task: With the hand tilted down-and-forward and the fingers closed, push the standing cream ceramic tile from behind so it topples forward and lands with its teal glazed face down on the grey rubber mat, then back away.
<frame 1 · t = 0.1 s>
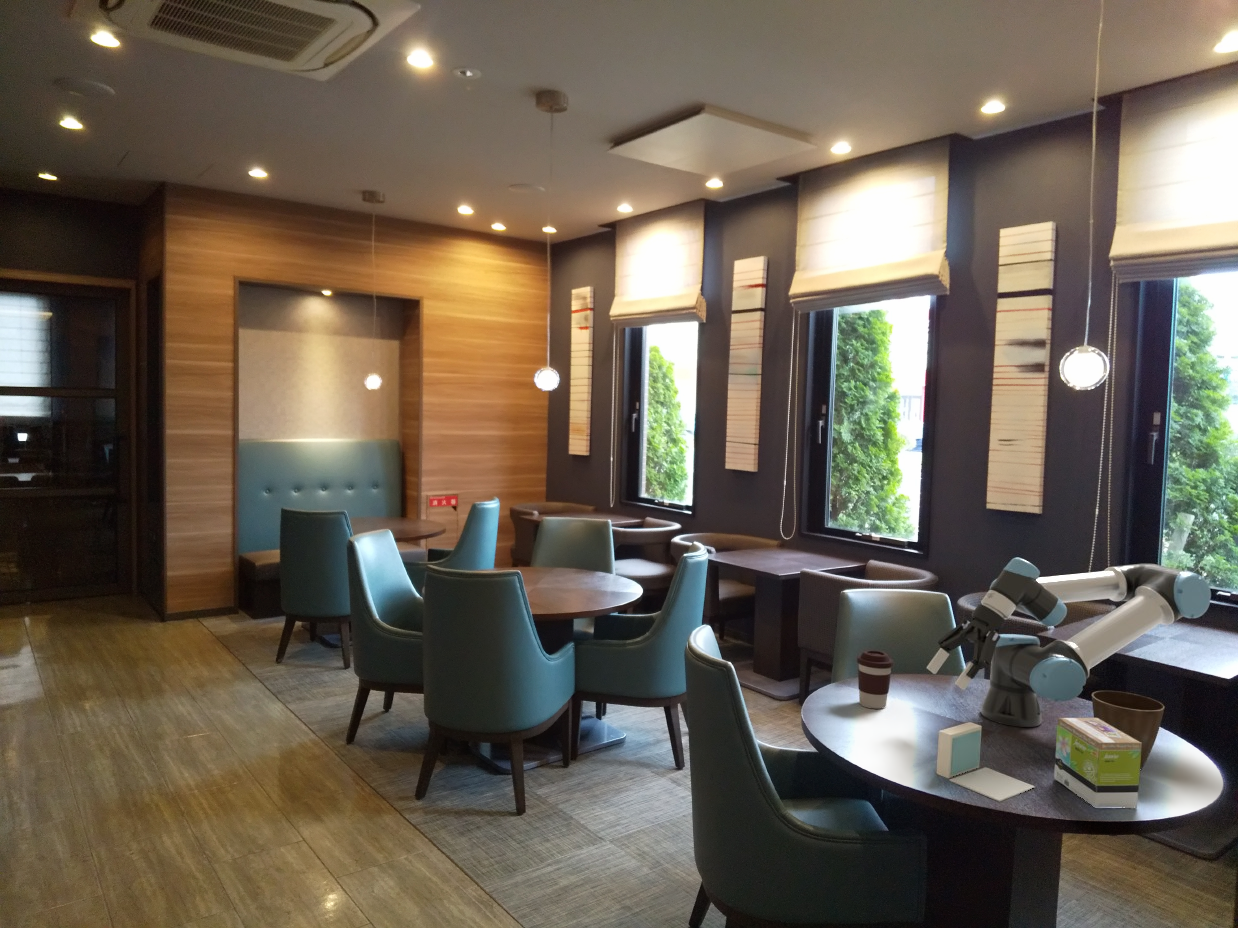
hand: (944, 678, 215), 15 cm above the table, tool tilted 35°, fingers open, 13 cm apart
coffee cup: (872, 705, 240), on the table
tea box: (1093, 794, 186), on the table
tile: (957, 770, 196), on the table
mat: (992, 784, 189), on the table
plant pot: (1122, 766, 203), on the table
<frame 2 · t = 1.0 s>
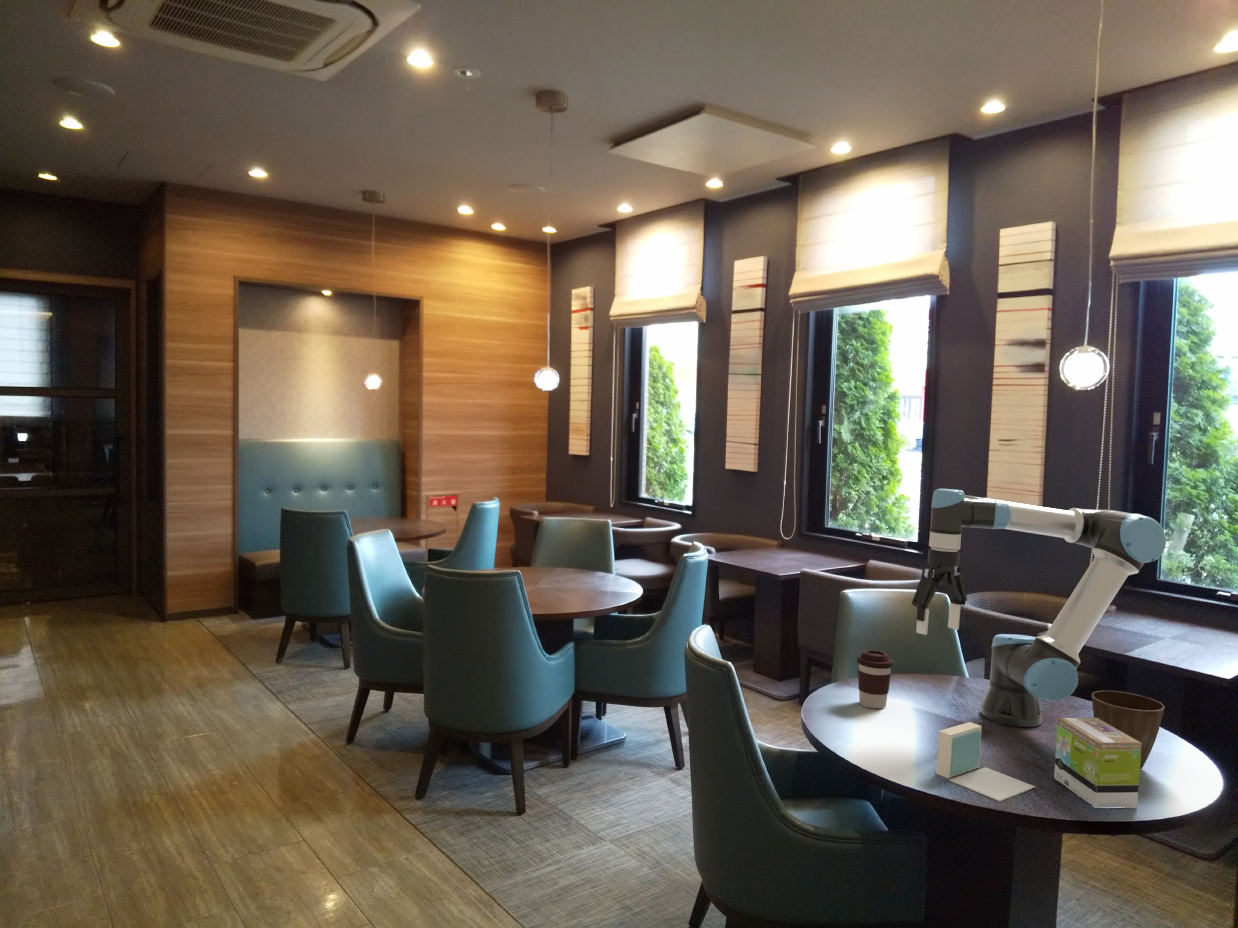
hand: (937, 631, 218), 27 cm above the table, tool pointing down, fingers open, 13 cm apart
nothing on the table moved.
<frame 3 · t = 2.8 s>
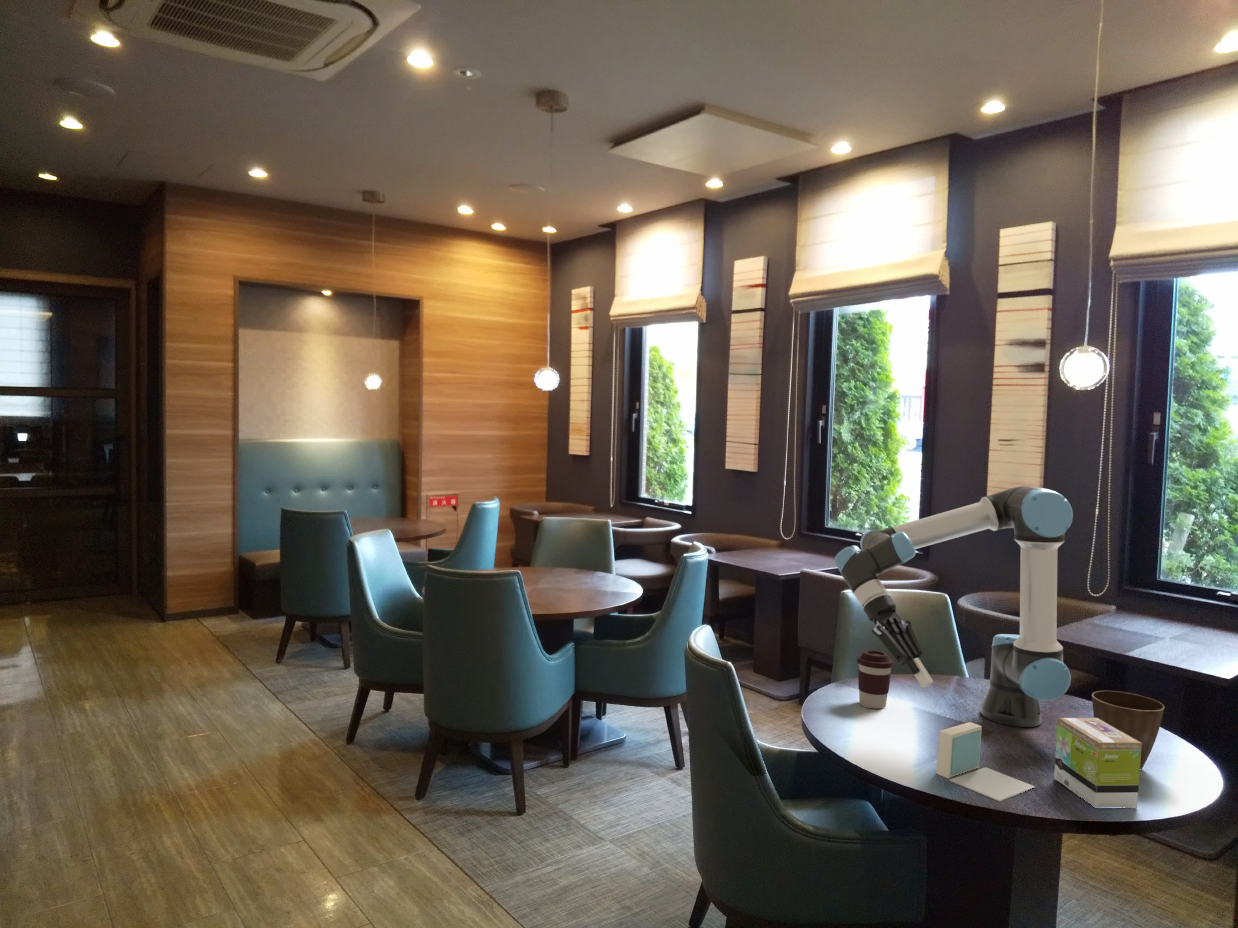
hand: (927, 684, 202), 18 cm above the table, tool tilted 45°, fingers closed
nothing on the table moved.
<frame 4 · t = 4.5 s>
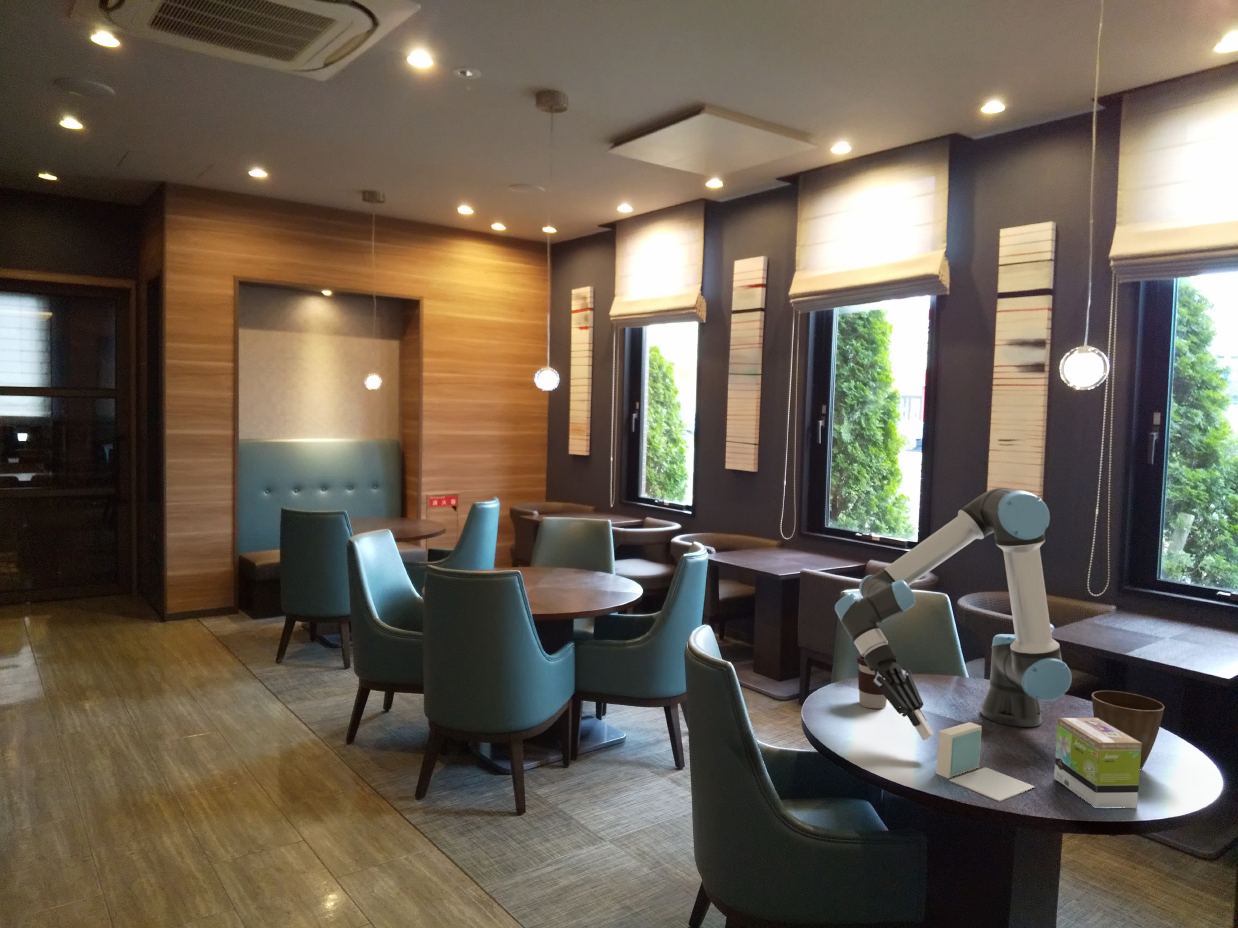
hand: (928, 737, 202), 5 cm above the table, tool tilted 45°, fingers closed
nothing on the table moved.
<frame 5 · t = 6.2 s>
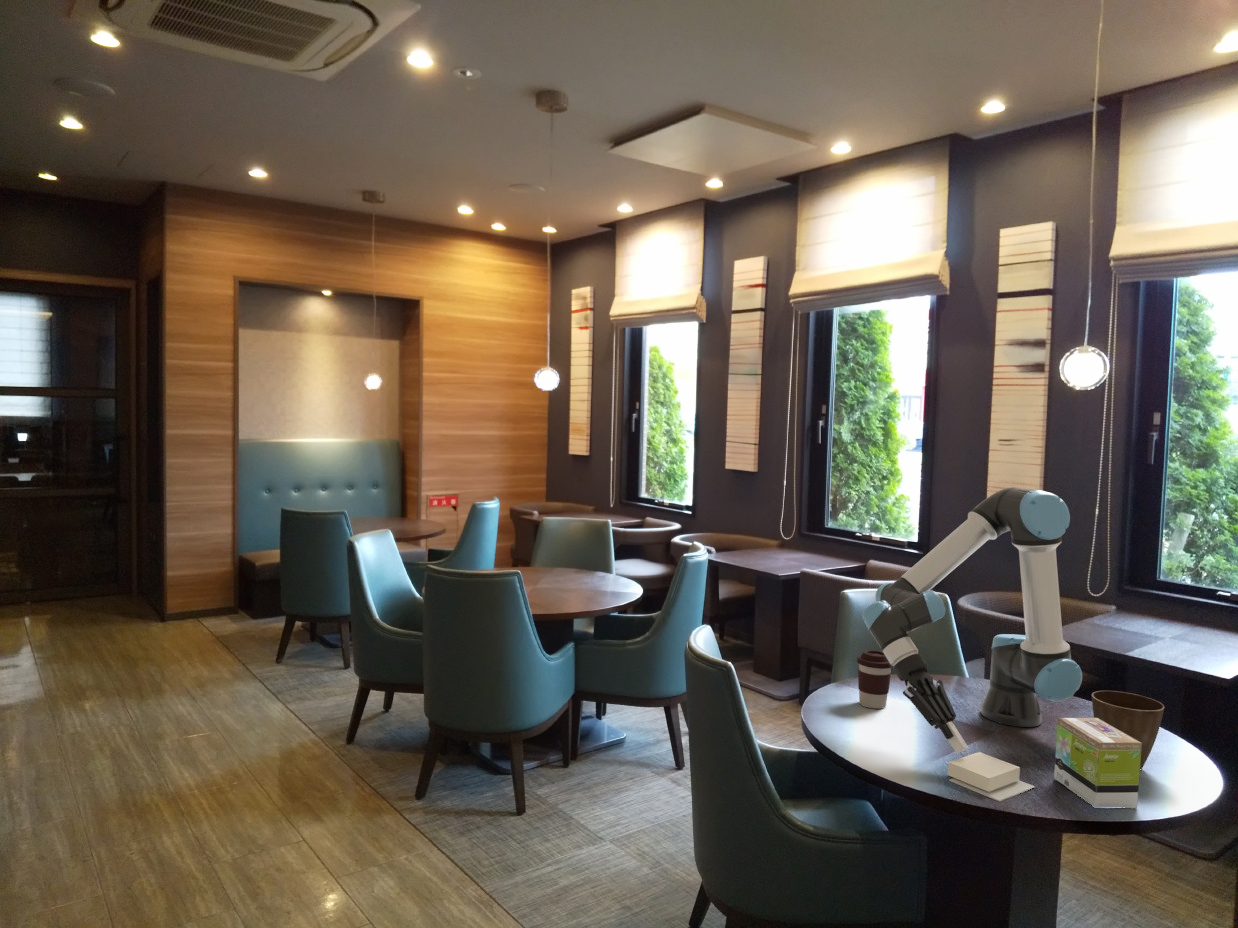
hand: (962, 750, 194), 5 cm above the table, tool tilted 45°, fingers closed
tile: (963, 763, 194), point 2 cm above the table, tilted 90°, touching mat
everything else where it was.
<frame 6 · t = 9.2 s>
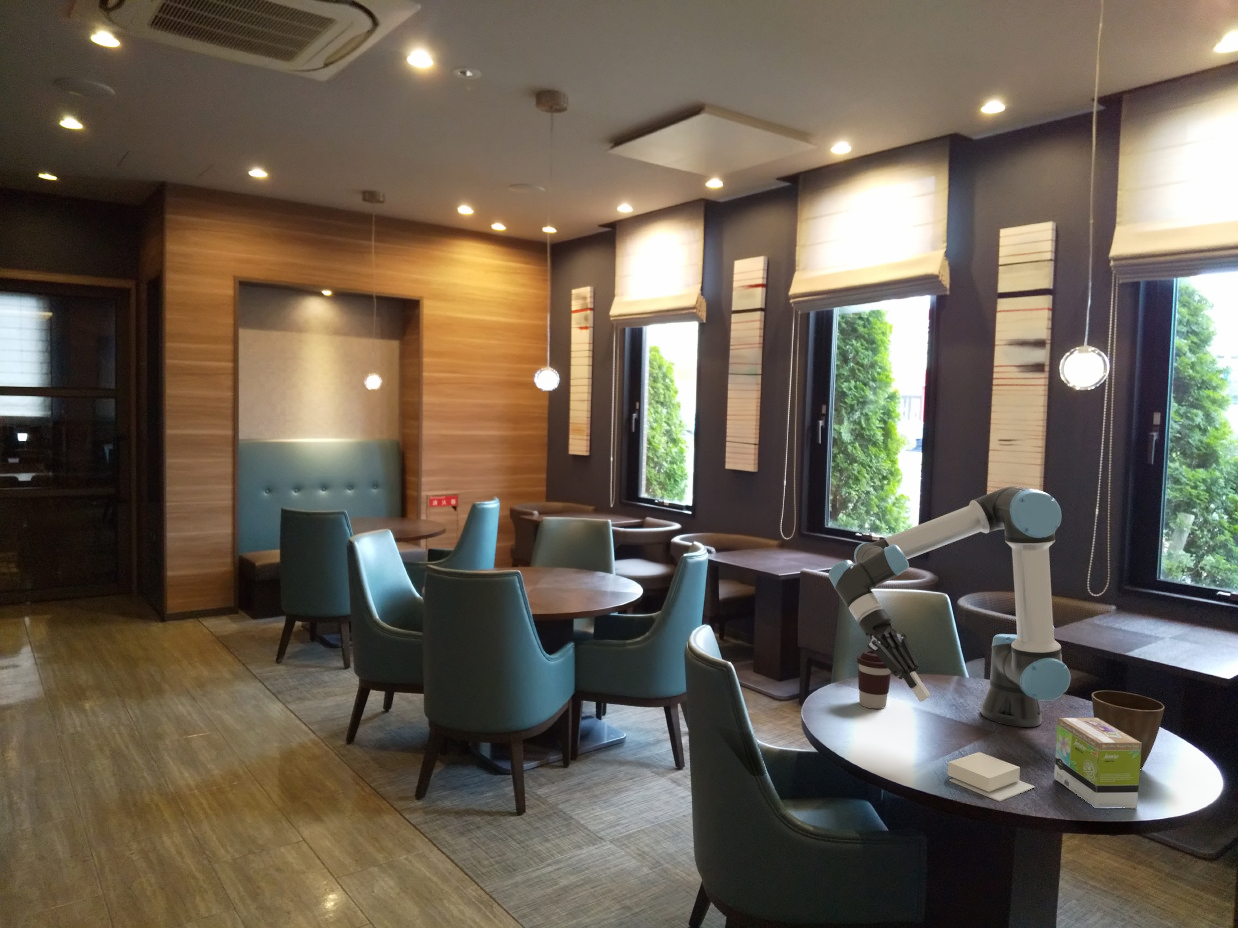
hand: (925, 698, 202), 14 cm above the table, tool tilted 45°, fingers closed
nothing on the table moved.
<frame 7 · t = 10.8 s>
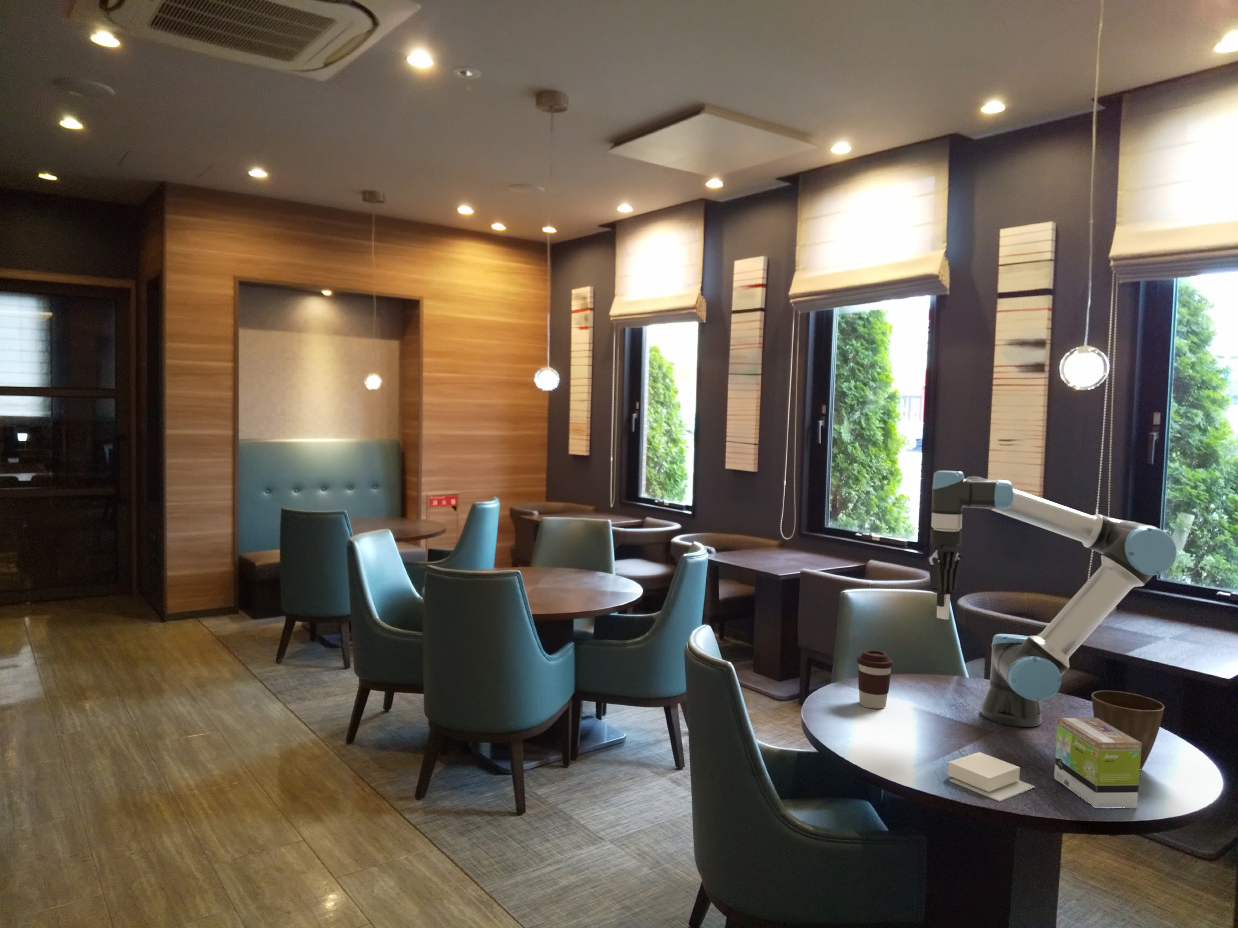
hand: (942, 618, 223), 29 cm above the table, tool pointing down, fingers closed
nothing on the table moved.
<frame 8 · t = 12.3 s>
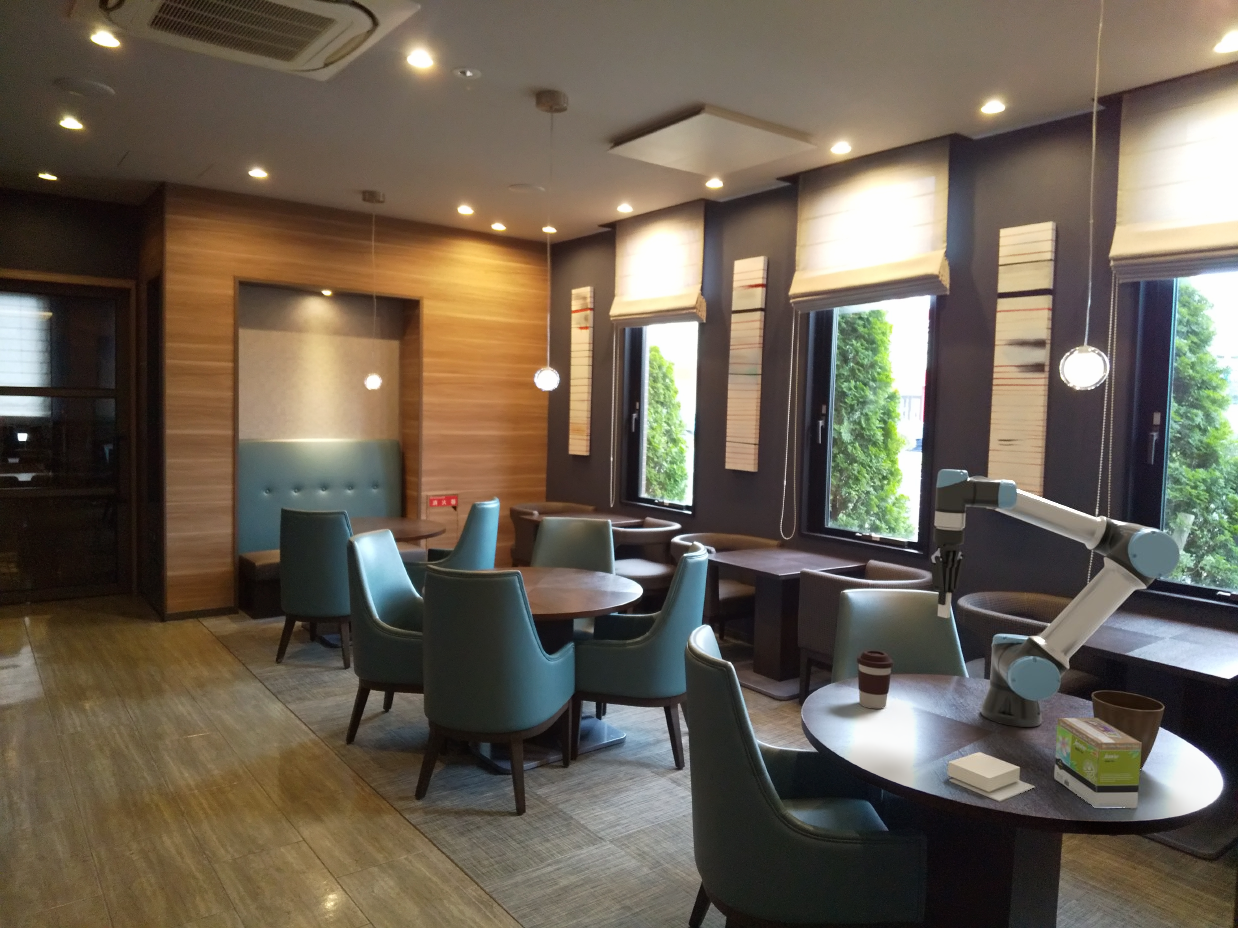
hand: (943, 616, 223), 29 cm above the table, tool pointing down, fingers closed
nothing on the table moved.
at the end: tile tilted 90°; tile 7.2 cm from the mat (horizontally); tile point 2.2 cm above the table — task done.
